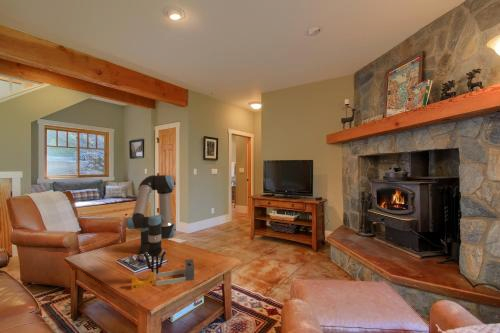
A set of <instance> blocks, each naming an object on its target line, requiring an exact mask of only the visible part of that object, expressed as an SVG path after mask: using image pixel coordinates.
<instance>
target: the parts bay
mask: <svg viewBox="0 0 500 333" xmlns="http://www.w3.org/2000/svg"><path fill="white" fill-rule="evenodd" d="M175 275H178V276H179V275H183V276H182V277H175V278H170V279H169V278H168V279H163V280H162V279H161V280H160V279H159V280H155V286H157V287H158V286H163V285H171V284H177V283H184V282H187V281H186V275H185V268H184V269H177V270H176V269H175V270H170V271H169V270H168V271H163V272H158V274H156V278H162V277H168V276H169V277H170V276H175Z"/></svg>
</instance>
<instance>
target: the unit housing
mask: <svg viewBox="0 0 500 333" xmlns="http://www.w3.org/2000/svg"><path fill="white" fill-rule="evenodd" d="M184 269H185V275H186V282H188V281H193V280H194V281H195V263H194V259H193V258H190V259H184Z"/></svg>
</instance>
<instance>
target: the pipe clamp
mask: <svg viewBox="0 0 500 333" xmlns="http://www.w3.org/2000/svg"><path fill="white" fill-rule="evenodd" d="M154 284H155V280H154V272H152V271H150V272H149V275H148V277H147V278H146V279H144V280H140V279H138V278H137V277H136V274H134V275H131V290H132V291H134V290H137V289H143V288H144V287H146V286H151V285H154Z"/></svg>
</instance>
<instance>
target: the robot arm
mask: <svg viewBox="0 0 500 333" xmlns="http://www.w3.org/2000/svg"><path fill="white" fill-rule="evenodd" d="M137 190H138V194H137V198H136V200H135V205H134V209H133V212H132V216H130V217H127V219H126V228H127V229H128V230H140V245H139V248H138V255H139V254H144V256H143V257H145V262H146V265H147V268H148V269H149V270H151V272H154V281H157V274H158V273H159V269H160V268H162V266H163V260H164V256H165V255H166V253H167V251H166V250H164V249H163V247H162V240H169V239H173V238H174V235H175V232H176V231H175V230H176V224H175V223H174V221H173V220H172V199H171V198H172V196H171V194H172V193H173V191H174V190H175V181H174V178H173V176H172V175H169V174H168V175H167V174H161V175H160V174H159V175H155V174H153V175H149V176H147V177H145V178H144V179H143V180H142V181H141V182H140V183H139V185H138V189H137ZM153 191H156V193H157V194H158V197H159V199H158V201H159V214H158V215H156V214H155V215H150V216H146V212H147V207H148V203H149V199H150V194H151V193H152V192H153ZM148 254H149V255H148ZM160 254H161V255H160ZM149 256H151V262H150V259H149ZM159 256H161V257H160V260H159Z"/></svg>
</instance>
